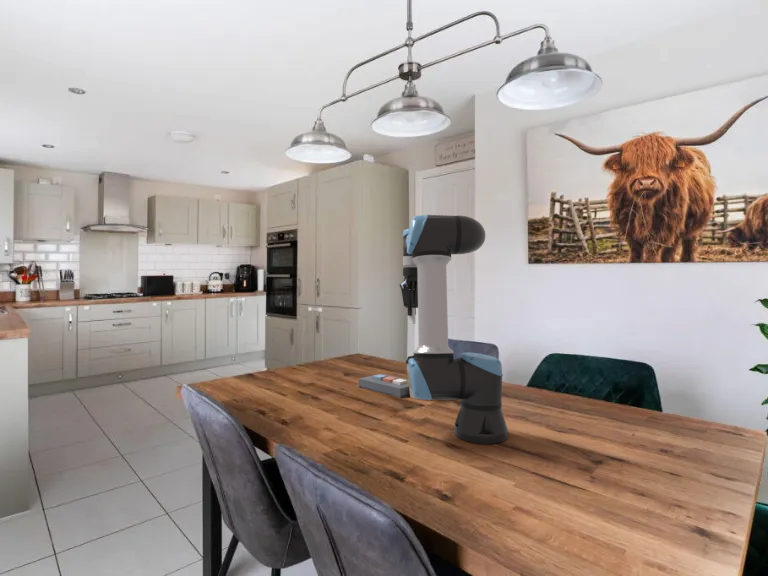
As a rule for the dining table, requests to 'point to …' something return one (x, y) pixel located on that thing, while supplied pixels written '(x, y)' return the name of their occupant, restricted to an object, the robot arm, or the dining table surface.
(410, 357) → the coffee cup
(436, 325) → the robot arm
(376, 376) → the key blue
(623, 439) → the dining table surface
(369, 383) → the console
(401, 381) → the key ivory
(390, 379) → the key red
